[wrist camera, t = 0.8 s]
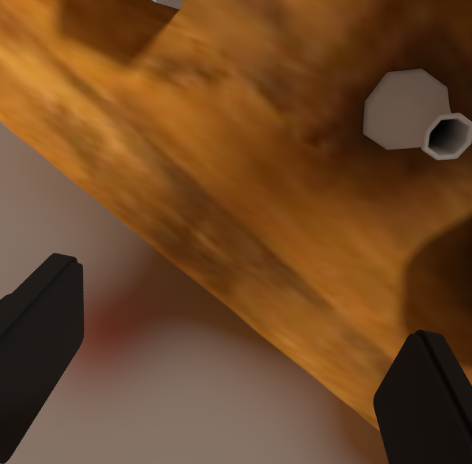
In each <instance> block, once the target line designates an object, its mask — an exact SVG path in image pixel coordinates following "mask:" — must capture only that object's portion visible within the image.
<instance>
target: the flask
mask: <svg viewBox="0 0 472 464" xmlns="http://www.w3.org/2000/svg"><path fill="white" fill-rule="evenodd" d="M363 134H364V135H365V136H367V137H368V138H370V139H371V140H373V141H374V142H376V143H377V144H379V145H380V146H382V147H383V148H385V149H386V150H392V149H405V148H418V147H421V149H422V150H423V151H424V152H426V153H427V154H429V155H430V156H431V157H433V158H434V159H436V160H448V159H457V158H458V157H459V156H460V155H461V154H462V153H463V152H464V151H465V150H466V149H467V148H468V146H469V145H470V144H471V143H472V121H470V120H469V119H468V118H466V117H465V116H463V115H462V114H461V113H451V111H450V106H449V101H448V89H447V87H446V86H445V85H443V84H442V83H441V82H439V81H438V80H437V79H435V78H434V77H433V76H431V75H430V74H429V73H427V72H426V71H425V70H423V69H412V70H403V71H393V72H387V73H386V74H385V75H384V77H383V78H382V79H381V81H380V82H379V83H378V85H377V86H376V87H375V89H374V90H373V91H372V93H371V94H370V95H369V97H368V98H367V99H366V101H365V105H364V123H363Z"/></svg>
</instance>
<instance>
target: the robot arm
mask: <svg viewBox="0 0 472 464" xmlns="http://www.w3.org/2000/svg"><path fill="white" fill-rule="evenodd" d="M83 304H84V303H83V266H82V264H80V263H78V262H77V259H76V258H75V257H72V256H67V255H62V254H57V253H53V254H52V255H51V256H49V257H48V258H47V259H46V260H45V261H44V262H43V263H42V264H41V265H40V266H39V267H38V268H37V269H36V270H35V271H34V272H33V273H32V274H31V275H30V276H29V277H28V278H27V279H26V280H25V281H24V282H23V283H22V284H21V285H20V286H19V287H18V288H17V289H16V290H15V291H14V292H13V293H12V294H8V295H6V296H5V297H3V298H2V299H1V300H0V463H1V464H4V463H6V462H7V461H8V460H9V459H10V457H11V456H12V454H13V453H14V451H15V449H16V448H17V446H18V445H19V443H20V442H21V440H22V438H23V437H24V435H25V434H26V432H27V430H28V429H29V427H30V425H31V424H32V422H33V421H34V419H35V418H36V416H37V414H38V413H39V411H40V410H41V408H42V406H43V405H44V403H45V401H46V400H47V398H48V397H49V395H50V394H51V392H52V390H53V389H54V387H55V386H56V384H57V382H58V381H59V379H60V377H61V376H62V374H63V373H64V371H65V370H66V368H67V366H68V365H69V363H70V362H71V360H72V358H73V357H74V355H75V354H76V352H77V350H78V349H79V347H80V345H81V343H82V341H83V337H84V307H83V306H84V305H83ZM373 404H374V410H375V414H376V417H377V421H378V425H379V428H380V432H381V436H382V439H383V443H384V447H385V450H386V454H387V457H388V461H389V464H472V386H471V384H470V382H469V380H468V379H467V377H466V375H465V373H464V372H463V370H462V368H461V366H460V364H459V363H458V361H457V359H456V357H455V356H454V354H453V352H452V350H451V349H450V347H449V345H448V343H447V342H446V340H445V338H444V337H443V336H442V335H441V334H437V333H433V332H428V331H423V330H418V331H416V332H415V334H410V335H409V336H408V337H407V339H406V341H405V343H404V344H403V346H402V348H401V350H400V351H399V353H398V355H397V357H396V358H395V360H394V362H393V364H392V365H391V367H390V369H389V371H388V372H387V374H386V376H385V378H384V379H383V381H382V383H381V385H380V386H379V388H378V390H377V392H376V393H375V396H374V401H373Z"/></svg>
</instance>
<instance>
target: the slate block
mask: <svg viewBox="0 0 472 464" xmlns="http://www.w3.org/2000/svg"><path fill="white" fill-rule="evenodd" d="M152 1H154V2H156V3H159V4H163V5H166V6H170V7H173V8H177V9H180V7H181V4H182V1H183V0H152Z"/></svg>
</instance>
